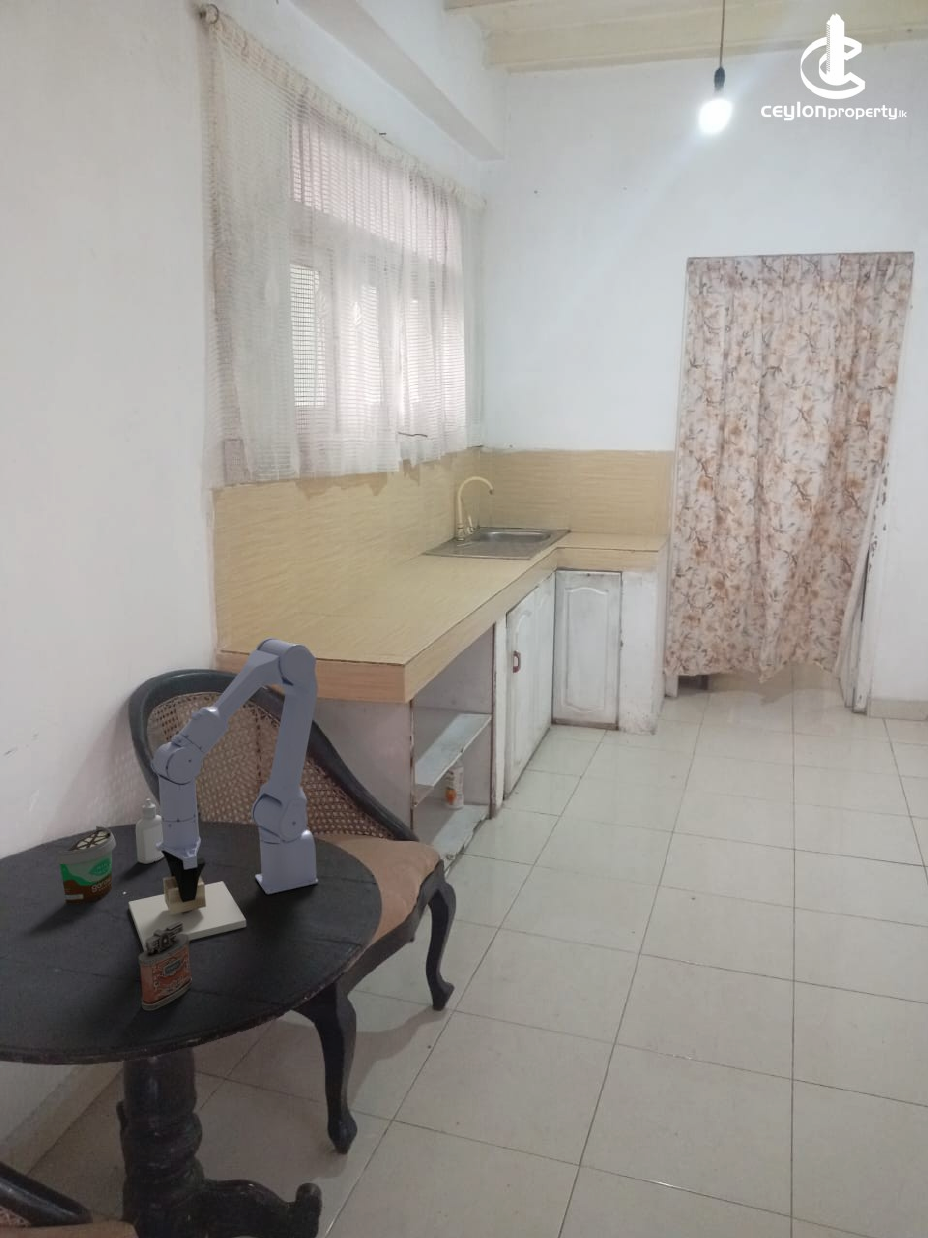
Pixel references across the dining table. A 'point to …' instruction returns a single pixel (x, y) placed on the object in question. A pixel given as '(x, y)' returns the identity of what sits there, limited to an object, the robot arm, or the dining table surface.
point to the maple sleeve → (175, 900)
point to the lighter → (165, 967)
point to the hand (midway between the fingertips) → (184, 892)
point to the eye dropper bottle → (149, 834)
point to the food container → (88, 867)
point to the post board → (189, 915)
